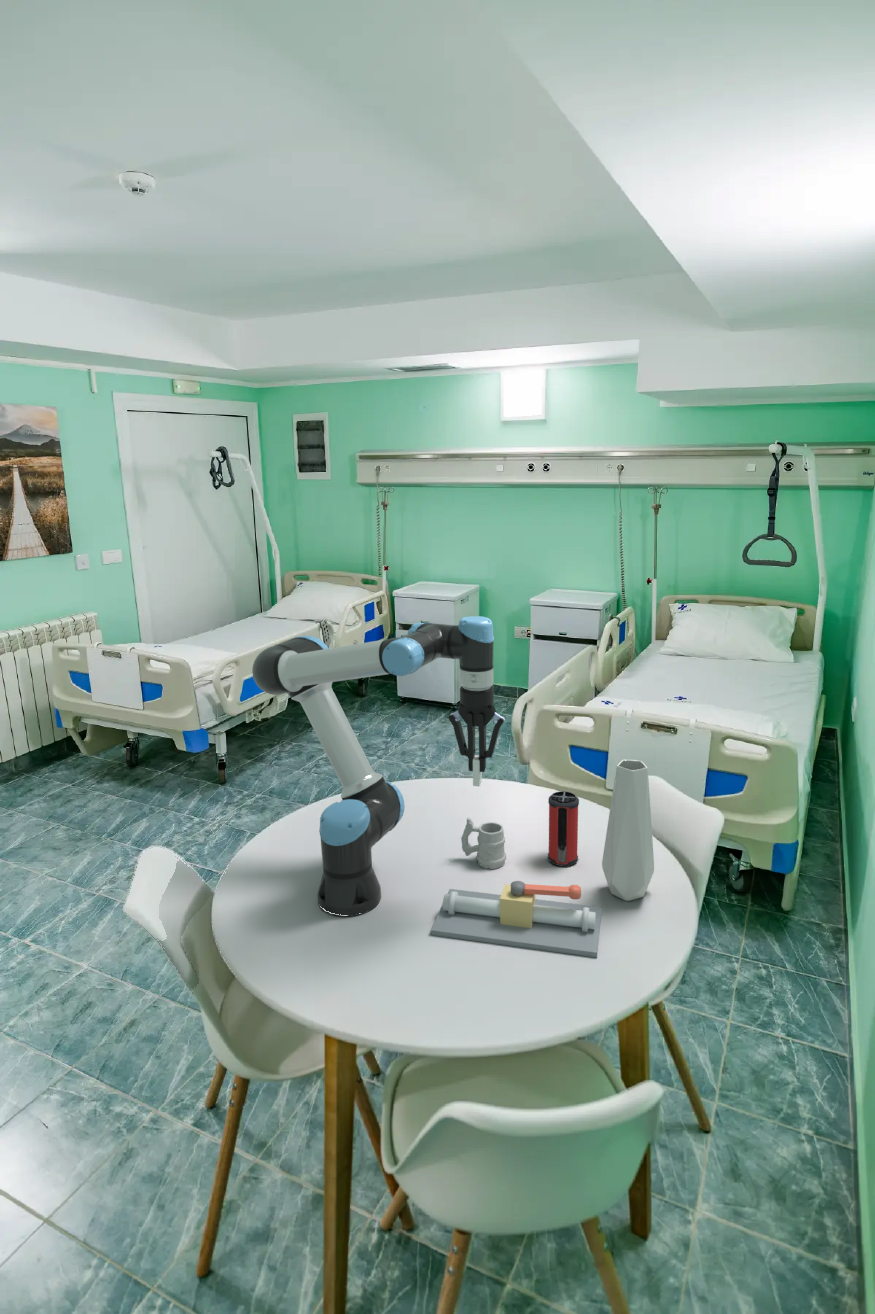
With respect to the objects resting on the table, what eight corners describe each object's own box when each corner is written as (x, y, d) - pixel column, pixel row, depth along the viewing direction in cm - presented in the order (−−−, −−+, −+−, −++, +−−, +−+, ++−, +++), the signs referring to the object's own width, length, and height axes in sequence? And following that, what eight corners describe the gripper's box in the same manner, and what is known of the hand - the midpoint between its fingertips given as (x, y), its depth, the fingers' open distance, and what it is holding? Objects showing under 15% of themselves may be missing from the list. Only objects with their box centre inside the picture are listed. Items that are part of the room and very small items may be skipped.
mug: (503, 871, 192) (503, 828, 189) (458, 866, 195) (457, 824, 192) (508, 856, 199) (508, 814, 196) (464, 851, 202) (464, 810, 199)
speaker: (546, 865, 194) (547, 801, 189) (549, 851, 201) (549, 788, 197) (576, 868, 192) (578, 803, 187) (578, 853, 199) (579, 791, 195)
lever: (510, 895, 167) (510, 887, 167) (511, 888, 170) (511, 880, 170) (580, 900, 165) (581, 892, 164) (580, 892, 168) (580, 884, 167)
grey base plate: (431, 934, 167) (430, 904, 165) (449, 893, 183) (449, 865, 181) (596, 957, 158) (597, 925, 156) (601, 911, 174) (602, 882, 172)
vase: (609, 874, 189) (613, 751, 181) (655, 885, 183) (662, 759, 175) (593, 898, 179) (596, 769, 171) (641, 911, 173) (647, 778, 165)
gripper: (444, 689, 166) (446, 788, 172) (502, 692, 163) (502, 793, 169) (452, 679, 173) (453, 774, 179) (508, 683, 170) (508, 779, 176)
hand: (477, 783), depth 174 cm, fingers closed
